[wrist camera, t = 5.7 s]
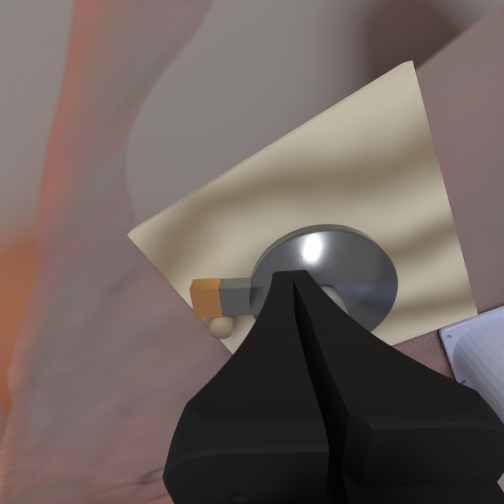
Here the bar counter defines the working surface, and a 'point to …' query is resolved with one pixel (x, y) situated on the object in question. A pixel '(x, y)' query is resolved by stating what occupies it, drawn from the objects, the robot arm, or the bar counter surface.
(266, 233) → the base
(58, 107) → the bar counter surface
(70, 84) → the bar counter surface
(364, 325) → the flange
